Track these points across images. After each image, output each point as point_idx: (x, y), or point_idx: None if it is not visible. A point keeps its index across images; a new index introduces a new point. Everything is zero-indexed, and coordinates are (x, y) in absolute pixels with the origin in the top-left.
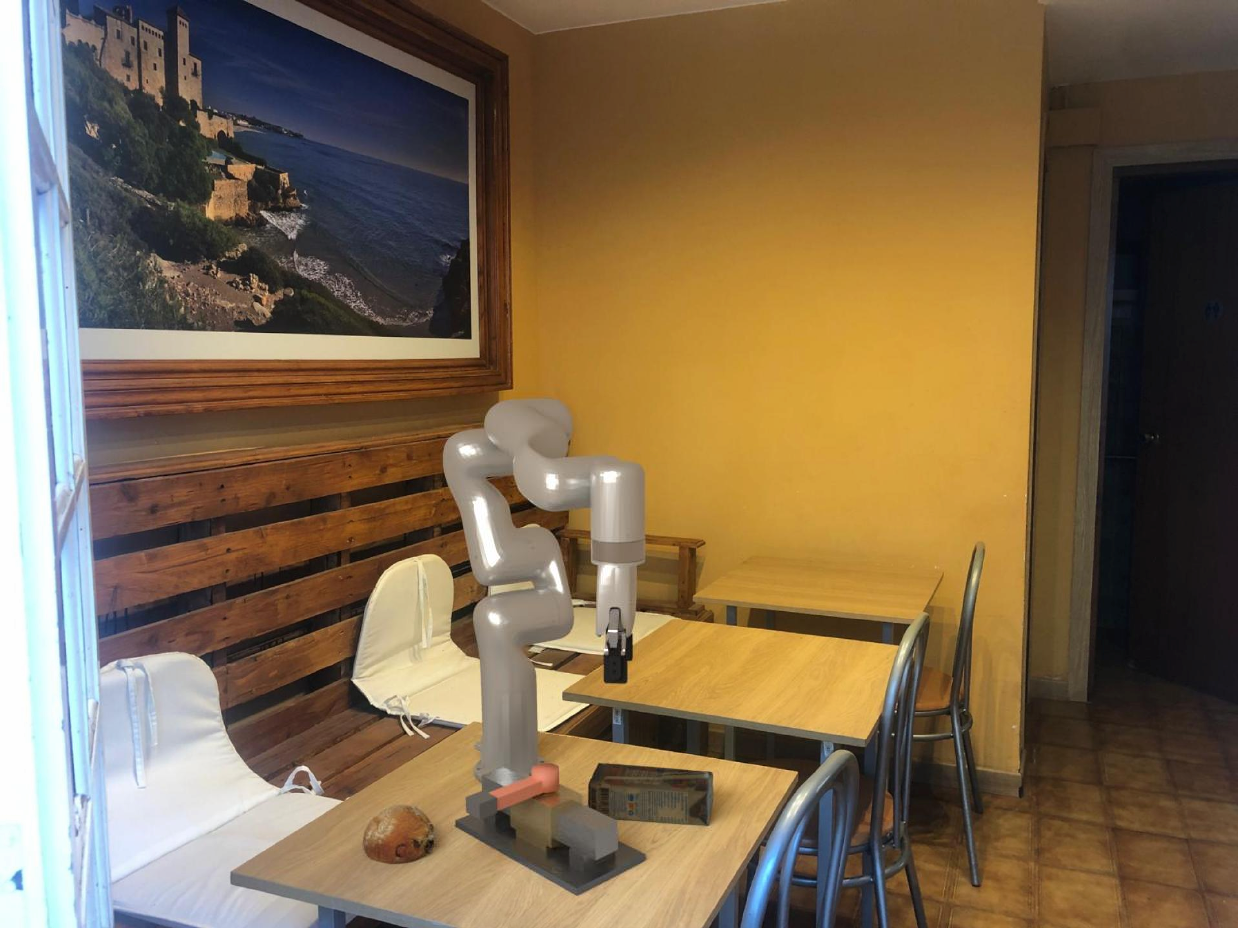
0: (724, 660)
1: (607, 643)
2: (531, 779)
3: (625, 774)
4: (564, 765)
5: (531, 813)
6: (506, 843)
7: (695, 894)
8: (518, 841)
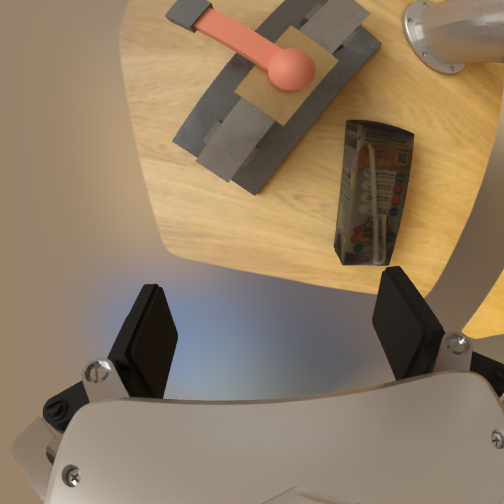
0: None
1: (43, 410)
2: (271, 53)
3: (382, 170)
4: (456, 92)
5: None
6: None
7: (200, 246)
8: None
